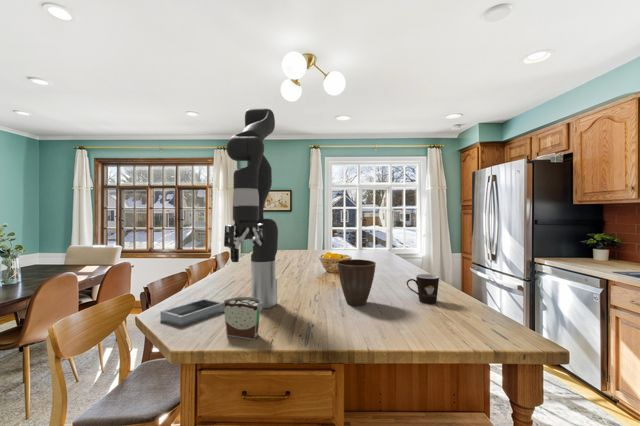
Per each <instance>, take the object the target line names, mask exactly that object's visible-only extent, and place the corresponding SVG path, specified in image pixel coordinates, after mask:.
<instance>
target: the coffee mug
mask: <svg viewBox="0 0 640 426" xmlns="http://www.w3.org/2000/svg"><path fill="white" fill-rule="evenodd" d="M415 277H416V279H414V278H410V279H408V280H407V281H406V286H407V287H408V289H409V290H410V291H412V292H414V293H415V294H416V295H417V296H418V301H419V302H420V303H422V304H426V305H433V304H435V305H436V303H437V301H438V291H439V284H440V283H439V281H440V276H439V275H436V274H430V273H419V274H415ZM409 282H415V284H416V286H417V291H415V290H414V289H412V288H411V287H410V286H409Z"/></svg>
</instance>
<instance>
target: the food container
mask: <svg viewBox="0 0 640 426" xmlns="http://www.w3.org/2000/svg"><path fill="white" fill-rule="evenodd" d="M222 303H223V306H222V308H223V307H224V320H225V321H224V322H225V332H226V337H235V338H240V339H247V340H254V341H256V340H257V338H258V336H259V327H260V326H259V325H260V317H261V316H260V315H261V311H262V310H263V308H262V303H261V302H260V300H259V299H258V298H254V297H251V296H239V297H231V298H227V299H225V300H223V302H222Z"/></svg>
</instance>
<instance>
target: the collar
mask: <svg viewBox="0 0 640 426" xmlns="http://www.w3.org/2000/svg"><path fill="white" fill-rule="evenodd" d="M223 303H224V302H222V301H217V300H211V299H207V298H202V299H198V300H196V301H195V300H194V301H192V302H189V303H188V302H187V303H185V304H181V305H178V306H174V307H171V308H169V309H165V310H162V311H161V310H160V321H161V322H164V323H168V324H170V325H174V326H177V327H181V328H182V327H185V326H187V325H190V324H192V323H196V322H199V321H201V320H204V319H207V318H211V317H212V316H215V315H218V314H220V313H223V312H224V307H223V308H222V306H223ZM224 313H225V312H224Z"/></svg>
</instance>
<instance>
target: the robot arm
mask: <svg viewBox="0 0 640 426" xmlns="http://www.w3.org/2000/svg"><path fill="white" fill-rule="evenodd" d="M274 114H275V113H274V111H272V110H271V109H270V108H248V109H246V110H245V113H244V126H245V127H244V129H243V130H242V131H241V132H238V133H235V134H234V135H232V136H231V137H230V138H229V139H228V141H227V143H226V148H225V149H226V153H227V157H228V158H230V159H231V160H233V161H235V162H246V163H247V164H246V165H247V166H245V167H242V168H241V167H240V168H237V169H235V170H234V172H233V177H232V178H233V189H232V190H233V192H232V221H233V222H234V224H233V225H231V224H230V225H229V224H227V225H225V226H224V237H223V238H224V239H223V246H224V247H226V248H229V250H230V254H229V255H230V260H231V261H230V262H231V263H238V262H239V261H240V260H239V259H240V253H239V251H240V248H239V247H240V245H241V243H243V242H244V240H249V241H250V242H251V243H252V244H253V246H252V253H251V254H250V297H254V298H258V299H259V300H260V302H261V303H262V309H270V308H273V307H275V306H276V304H277V303H278V279H277V278H276V256H277V252H278V240H279V239H278V238H279V228H278V225H277V223H276V221H275V220H274V219H272V218H264V207H265V203H266V200H267V198H268V195H269V194H270V192H271V188H272V186H273V185H272V184H273V183H272V181H273V180H272V179H273V177H272V176H273V175H272V172H273V171H272V166H271V164H270V162H269V161H268V158H267V157H266V156H265V155H264V153H265V145H264V139H266V138H267V137H268V136H270V135H271V134H272V133H273V132H274V130H275V128H276V127H275V126H276V120H275V119H276V118H275V115H274Z"/></svg>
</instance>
